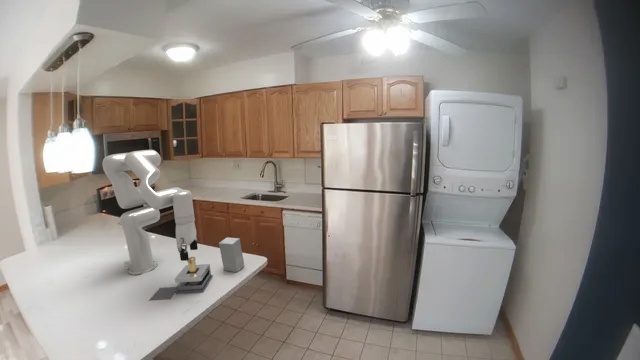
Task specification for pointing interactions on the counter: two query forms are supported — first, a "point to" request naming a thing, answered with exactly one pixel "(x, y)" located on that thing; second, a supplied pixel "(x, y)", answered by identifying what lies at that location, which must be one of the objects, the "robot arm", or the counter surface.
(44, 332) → the counter surface
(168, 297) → the mat
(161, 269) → the counter surface
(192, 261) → the pin
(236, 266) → the skincare box
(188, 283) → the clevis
